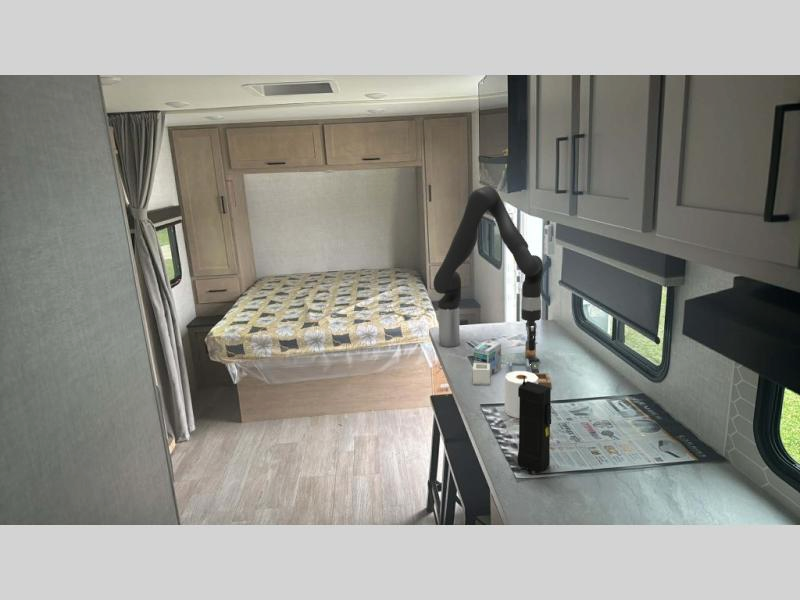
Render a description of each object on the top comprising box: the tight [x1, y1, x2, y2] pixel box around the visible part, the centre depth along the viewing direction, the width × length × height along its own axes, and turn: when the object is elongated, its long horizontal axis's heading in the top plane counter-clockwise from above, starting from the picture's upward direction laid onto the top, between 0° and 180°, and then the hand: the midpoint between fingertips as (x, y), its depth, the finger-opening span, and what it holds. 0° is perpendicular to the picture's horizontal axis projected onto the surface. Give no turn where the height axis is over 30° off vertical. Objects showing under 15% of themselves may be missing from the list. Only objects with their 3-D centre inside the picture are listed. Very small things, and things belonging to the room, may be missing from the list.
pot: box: [472, 362, 491, 386], centre depth 191 cm, size 6×6×6 cm
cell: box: [524, 340, 537, 364], centre depth 206 cm, size 4×4×9 cm
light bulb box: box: [473, 340, 502, 377], centre depth 200 cm, size 11×7×11 cm, turn 143°
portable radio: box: [517, 376, 552, 474], centre depth 135 cm, size 8×6×25 cm
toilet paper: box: [504, 371, 538, 419], centre depth 166 cm, size 10×10×12 cm
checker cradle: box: [505, 357, 541, 374], centre depth 198 cm, size 11×12×4 cm
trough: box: [534, 372, 552, 389], centre depth 187 cm, size 8×8×2 cm
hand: (530, 346), depth 206 cm, fingers open, 8 cm apart
